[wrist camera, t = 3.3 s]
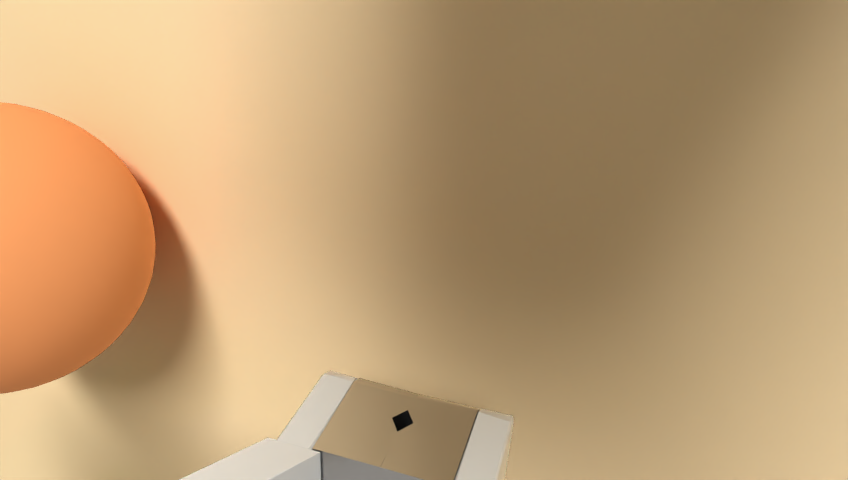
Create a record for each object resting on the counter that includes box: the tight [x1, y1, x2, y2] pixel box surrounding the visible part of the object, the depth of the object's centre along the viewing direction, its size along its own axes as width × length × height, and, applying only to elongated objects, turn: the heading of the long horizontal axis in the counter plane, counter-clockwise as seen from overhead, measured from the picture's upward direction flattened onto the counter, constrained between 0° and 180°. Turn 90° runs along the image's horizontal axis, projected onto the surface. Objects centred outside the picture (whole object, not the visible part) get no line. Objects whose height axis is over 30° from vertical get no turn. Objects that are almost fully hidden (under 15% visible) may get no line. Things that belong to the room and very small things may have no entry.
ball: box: [0, 102, 156, 394], centre depth 13 cm, size 6×6×6 cm
